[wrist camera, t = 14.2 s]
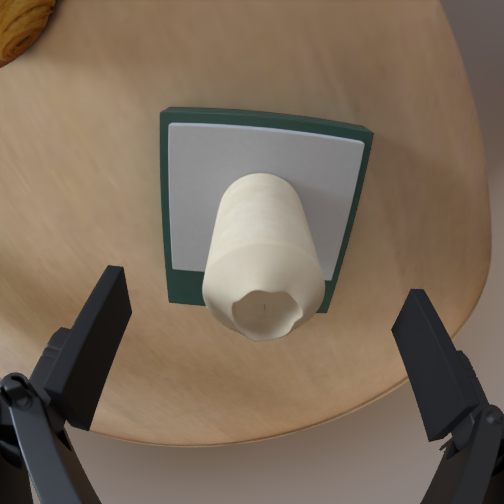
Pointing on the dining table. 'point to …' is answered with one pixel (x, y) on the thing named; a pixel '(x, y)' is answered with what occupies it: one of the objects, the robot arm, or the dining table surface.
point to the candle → (262, 260)
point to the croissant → (21, 25)
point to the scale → (249, 162)
